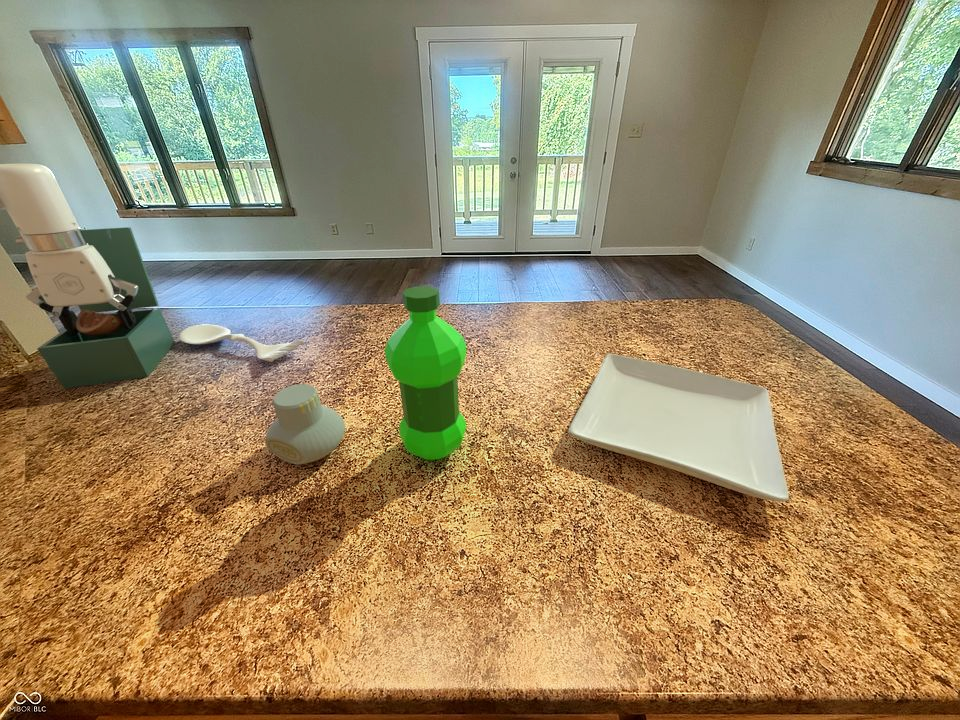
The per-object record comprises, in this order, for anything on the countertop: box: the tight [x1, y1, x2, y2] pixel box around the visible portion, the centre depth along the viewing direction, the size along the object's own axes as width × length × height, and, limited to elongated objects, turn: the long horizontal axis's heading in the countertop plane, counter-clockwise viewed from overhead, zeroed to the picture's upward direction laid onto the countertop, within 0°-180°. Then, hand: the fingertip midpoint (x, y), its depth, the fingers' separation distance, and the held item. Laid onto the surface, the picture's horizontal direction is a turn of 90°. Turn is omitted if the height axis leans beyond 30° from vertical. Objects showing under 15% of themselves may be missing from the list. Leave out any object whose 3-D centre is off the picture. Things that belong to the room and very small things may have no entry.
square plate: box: [568, 353, 790, 503], centre depth 61 cm, size 27×27×4 cm
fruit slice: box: [75, 309, 123, 335], centre depth 76 cm, size 8×7×5 cm
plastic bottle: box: [384, 285, 467, 461], centre depth 52 cm, size 10×10×25 cm
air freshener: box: [264, 383, 346, 465], centre depth 56 cm, size 11×8×10 cm
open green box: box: [36, 307, 176, 390], centre depth 78 cm, size 16×14×9 cm
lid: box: [77, 226, 160, 313], centre depth 79 cm, size 16×14×1 cm
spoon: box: [178, 323, 305, 363], centre depth 85 cm, size 9×32×4 cm, turn 67°
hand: (104, 329), depth 76 cm, fingers closed on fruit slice, 8 cm apart
